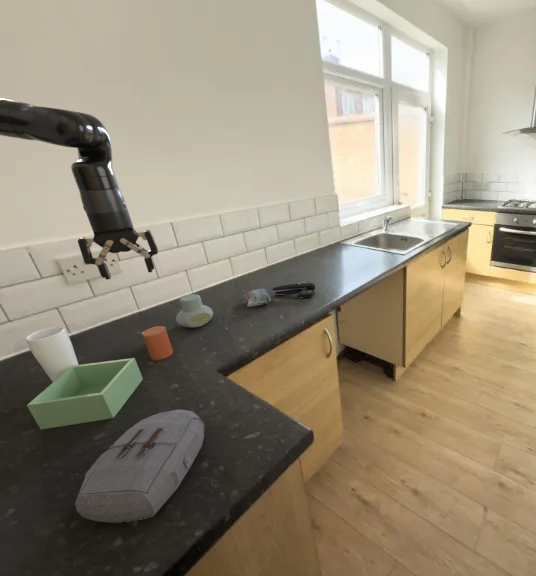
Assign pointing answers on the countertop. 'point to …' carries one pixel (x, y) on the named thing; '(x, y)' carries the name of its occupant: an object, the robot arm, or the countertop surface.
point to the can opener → (297, 289)
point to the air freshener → (193, 312)
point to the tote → (86, 393)
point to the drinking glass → (52, 350)
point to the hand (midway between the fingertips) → (130, 275)
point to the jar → (157, 342)
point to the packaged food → (257, 297)
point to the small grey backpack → (141, 468)
